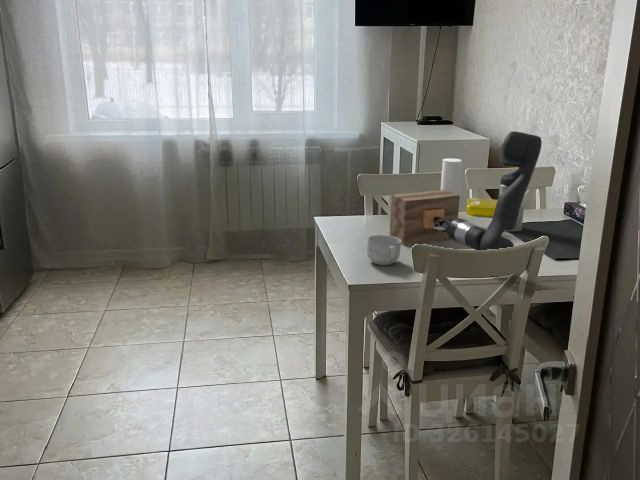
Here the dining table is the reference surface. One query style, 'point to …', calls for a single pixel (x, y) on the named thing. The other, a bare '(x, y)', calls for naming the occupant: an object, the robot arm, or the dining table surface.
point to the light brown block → (431, 216)
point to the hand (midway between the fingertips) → (435, 219)
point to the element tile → (481, 207)
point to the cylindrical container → (451, 175)
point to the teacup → (383, 249)
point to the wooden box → (420, 215)
